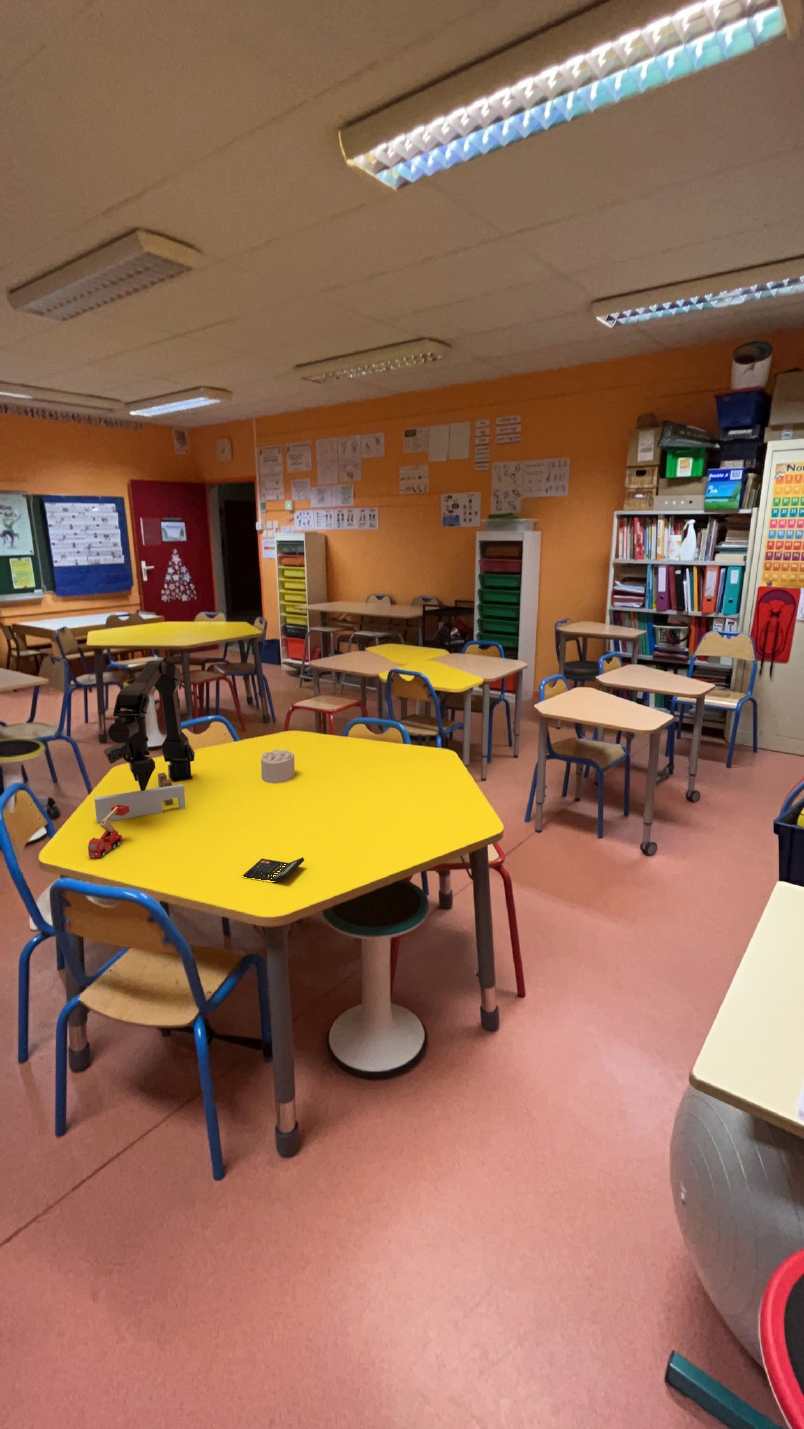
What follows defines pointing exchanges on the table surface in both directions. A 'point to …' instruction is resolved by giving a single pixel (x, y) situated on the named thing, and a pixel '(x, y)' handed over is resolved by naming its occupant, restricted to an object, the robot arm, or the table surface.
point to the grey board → (139, 802)
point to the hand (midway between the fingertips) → (139, 785)
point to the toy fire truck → (107, 834)
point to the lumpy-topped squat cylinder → (277, 766)
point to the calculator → (272, 869)
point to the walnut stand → (164, 785)
